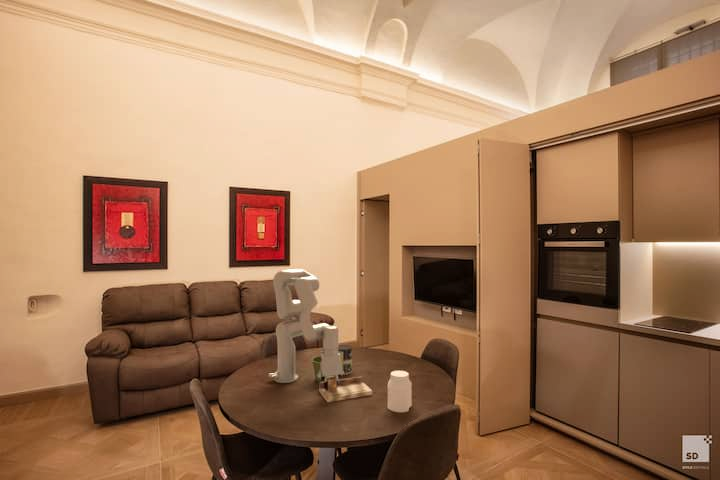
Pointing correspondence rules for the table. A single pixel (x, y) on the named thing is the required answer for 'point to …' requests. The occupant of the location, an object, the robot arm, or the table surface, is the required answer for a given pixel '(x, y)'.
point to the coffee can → (346, 358)
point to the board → (346, 389)
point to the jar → (399, 392)
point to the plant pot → (317, 367)
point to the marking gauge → (332, 384)
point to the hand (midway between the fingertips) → (330, 388)
